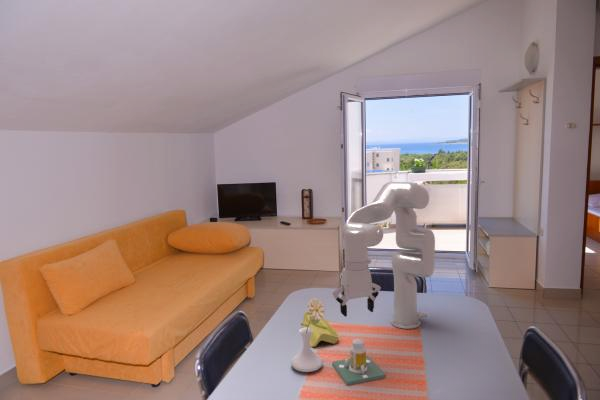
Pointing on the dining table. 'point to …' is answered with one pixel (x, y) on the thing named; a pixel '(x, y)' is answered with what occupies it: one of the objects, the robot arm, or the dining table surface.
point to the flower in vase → (307, 357)
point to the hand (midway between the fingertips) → (357, 312)
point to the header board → (358, 376)
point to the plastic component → (320, 331)
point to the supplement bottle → (358, 354)
